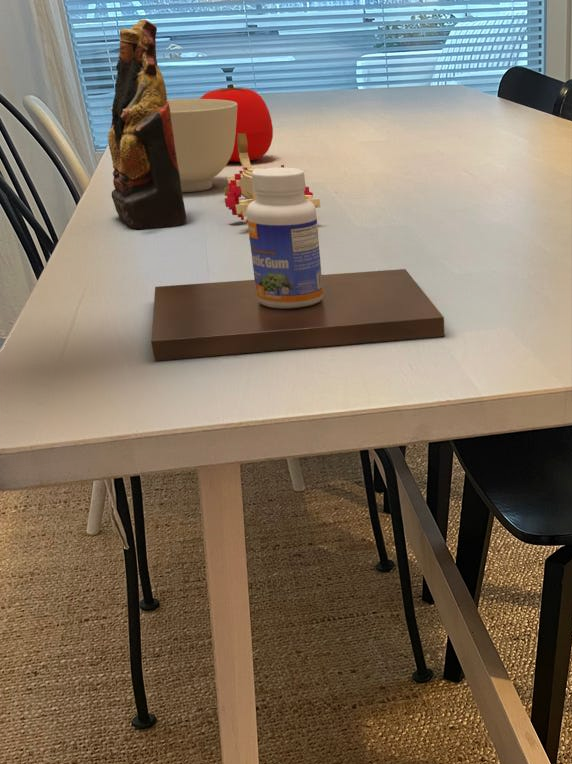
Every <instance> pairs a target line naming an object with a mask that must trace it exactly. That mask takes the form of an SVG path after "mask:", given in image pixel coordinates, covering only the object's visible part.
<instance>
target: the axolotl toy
mask: <svg viewBox="0 0 572 764" xmlns="http://www.w3.org/2000/svg"><path fill="white" fill-rule="evenodd" d="M237 145H238V154H239V158H240V161H241V162H240V164H241V167H242V170H239V173H234V174H233V175H234V176H227V177H226V180H227V187H223V192H224V196H225V198H224V203H225V207H226V208H228V210H229V211H230V210H231V214H232V216H237V218H240V221H245V217H246V222H247V207H248V205H249V204H250V203H251V202H253V201H254V200H256V199H257V194H256V193H255V192H254V191H253V183H252V172H253V171H255V170H258V169H262V168H260V167H255V168H252V164H251V161H249V157H248V153H247V145H248V144H247V137H246V134H237ZM281 167H284V168H285V165H284V164H281V165H280V168H281ZM287 168H290V167H287ZM242 197H243V198H244V199H240V198H242ZM303 197H304V198H305V199H307V200H309V201H311V202H312V203H313V204H314V206H315V208H316V209H318V208H321V199H320V198H319V197H318V198H316V197H315V198H314V193H313V192H311V191H310V186H306V187H305V191H304V192H303Z"/></svg>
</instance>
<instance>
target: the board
mask: <svg viewBox="0 0 572 764" xmlns="http://www.w3.org/2000/svg"><path fill="white" fill-rule="evenodd" d="M322 286H323V298H322V300H321V301H320V302H318V303H316V304H314V305H310V306H306V307H301V308H291V309H278V308H271V307H267V306H264V305H262V304H261V303H259V301H258V300H257V295H256V288H255V279H244V280H231V281H216V282H204V283H189V284H188V283H187V284H174V285H160V286H155V287H154V297H153V308H152V309H153V310H152V312H153V313H152V322H151V336H150V337H151V338H150V342H151V349H152V353H153V358H154V361H155V362H159V361H170V360H172V361H173V360H183V359H195V358H206V357H218V356H229V355H230V356H231V355H240V354H241V355H242V354H252V353H253V354H254V353H262V352H263V353H264V352H274V351H275V352H276V351H288V350H298V349H299V350H300V349H312V348H324V347H335V346H346V345H356V344H359V345H360V344H369V343H370V344H371V343H381V342H392V341H393V342H394V341H403V340H405V341H406V340H415V339H417V340H418V339H428V338H437V337H438V338H440V337H441V338H442V337H445V317H444V315H443V314H442V313H441V312H440V310H439V309H438V308H437V307H436V305H435V304H434V302H432V301H431V299H430V298H429V296H428V295H427V294H426V293H425V292H424V290H423V289H422V288H421V287H420V285H419V284H418V283H417V282H416V280H415V279H414V278H413V277H412V275H411V274H410V272H408V271H407V269H406V268H401V269H400V268H399V269H398V268H397V269H389V270H388V269H387V270H386V269H385V270H372V271H357V272H345V273H330V274H322Z"/></svg>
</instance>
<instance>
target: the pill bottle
mask: <svg viewBox="0 0 572 764" xmlns="http://www.w3.org/2000/svg"><path fill="white" fill-rule="evenodd" d="M252 183H253V191H254V192H255V193H256V194H257V199H256V200H254V201H253V202H251V203H250V204H249V205H248V207H247V216H246V219H247V221H246V223H247V229H248V236H249V246H250V253H251V261H252V270H253V271H252V272H253V278H254V279H253V280H255V288H256V295H257V300H258V301H259V303H261V304H262V305H264V306H267V307H271V308H278V309H291V308H301V307H306V306H310V305H314V304H316V303H318V302H320V301H321V300H322V298H323V286H322V275H323V274H322V263H321V253H320V240H319V228H318V217H317V208H315V206H314V204H313V203H312V202H311V201H309V200H307V199H305V198H304V197H303V192H304V191H305V187H307V185H306V178H305V171H304V170H303V169H301V168H296V167H289V168H288V167H285V166H284V167H281V166H280V167H266V168H265V167H264V168H261V169H258V170H255V171H253V172H252Z"/></svg>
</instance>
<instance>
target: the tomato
mask: <svg viewBox="0 0 572 764" xmlns="http://www.w3.org/2000/svg"><path fill="white" fill-rule="evenodd" d="M252 89H253V90H252ZM254 89H255V88H252V87H250V88H246V87H242V86H241V87H234V84H233V83H231V84H228V87H221V88H220V87H219V88H215V89H213V90H210V89H209V90H208V92H206V93H204V94H203V95H202V96H201V97H200V98H199V99H217V100H228V101H233V102H236V103H237V120H236V134H235V143H234V149H233V152H232V155H231V158H230V160H229V162H230V163H241V161H240V158H239V154H238V145H237V134H246V137H247V144H248V145H247V153H248V157H249V161H250V162H251V161H256V160H258V159H261V158H262V157H264V156H265V155H266V154H267V153H268V152H269V149H270V147H271V145H272V141H273V137H274V127H273V121H272V117H271V114H270V113H271V112H270V110H269V107H268V106H267V104H266V102H265V100H264V99H263V97H262V96H261V95H260V94H259V93H257V92H256V91H255V90H254ZM229 162H228V163H229Z"/></svg>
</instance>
